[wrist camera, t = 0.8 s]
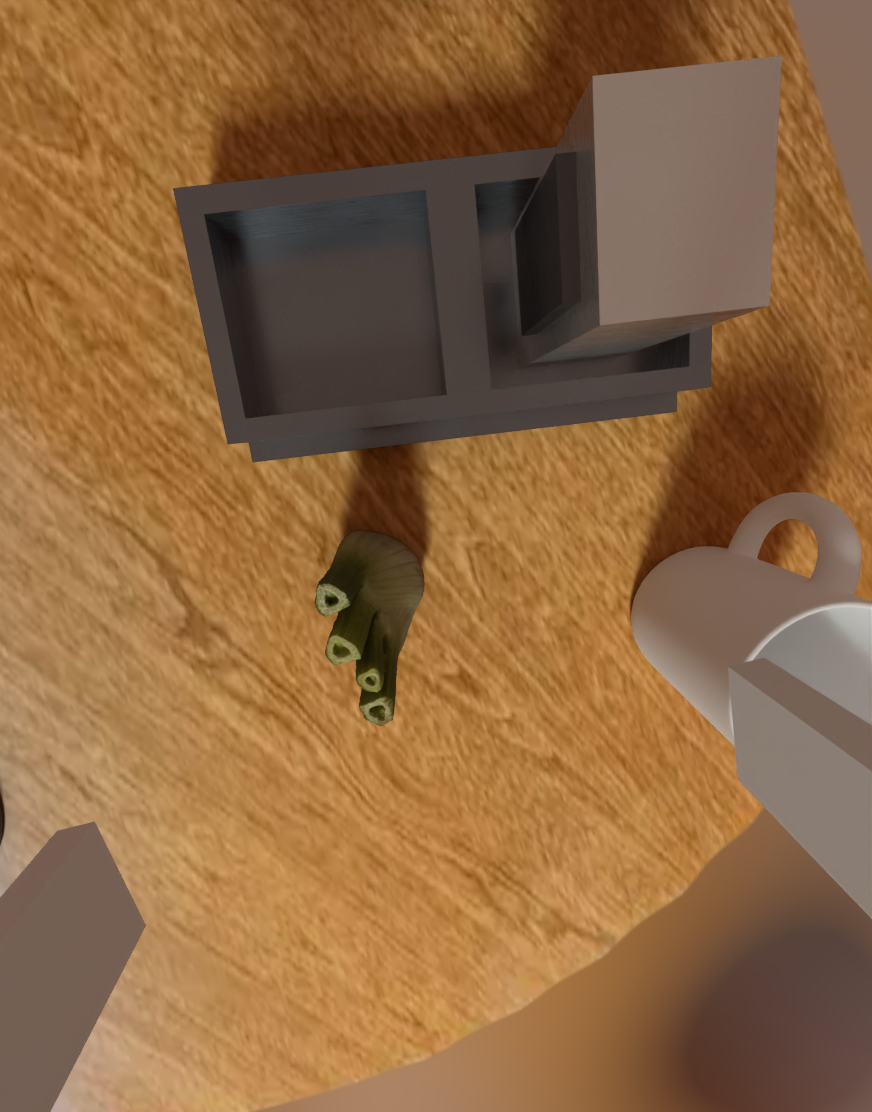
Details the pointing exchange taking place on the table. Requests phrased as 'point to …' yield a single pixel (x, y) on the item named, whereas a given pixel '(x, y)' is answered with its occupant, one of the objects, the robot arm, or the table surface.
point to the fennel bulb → (371, 613)
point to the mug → (760, 613)
